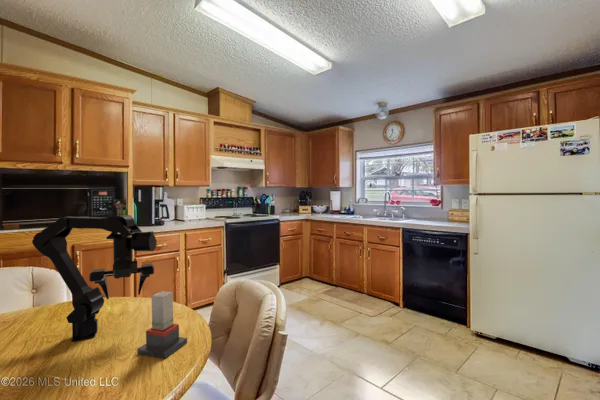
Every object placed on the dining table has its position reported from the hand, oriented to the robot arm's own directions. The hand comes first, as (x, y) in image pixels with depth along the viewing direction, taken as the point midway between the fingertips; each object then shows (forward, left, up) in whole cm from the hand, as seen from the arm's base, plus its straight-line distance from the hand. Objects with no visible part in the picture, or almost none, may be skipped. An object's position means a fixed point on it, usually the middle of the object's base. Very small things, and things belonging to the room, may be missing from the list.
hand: (123, 296), depth 103 cm
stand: (+11, -17, -13) cm, 24 cm away
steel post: (+11, -17, -8) cm, 22 cm away
